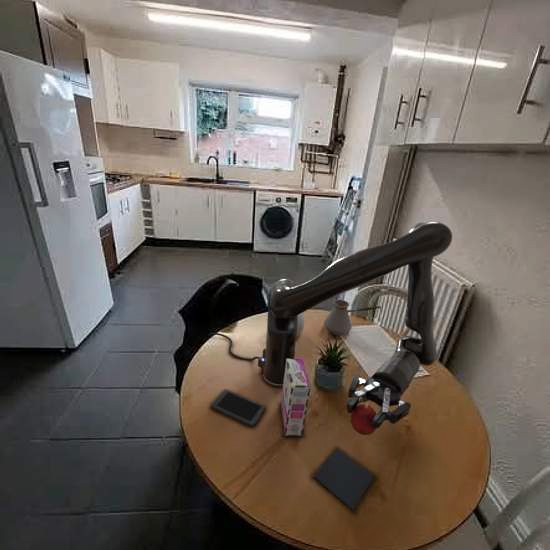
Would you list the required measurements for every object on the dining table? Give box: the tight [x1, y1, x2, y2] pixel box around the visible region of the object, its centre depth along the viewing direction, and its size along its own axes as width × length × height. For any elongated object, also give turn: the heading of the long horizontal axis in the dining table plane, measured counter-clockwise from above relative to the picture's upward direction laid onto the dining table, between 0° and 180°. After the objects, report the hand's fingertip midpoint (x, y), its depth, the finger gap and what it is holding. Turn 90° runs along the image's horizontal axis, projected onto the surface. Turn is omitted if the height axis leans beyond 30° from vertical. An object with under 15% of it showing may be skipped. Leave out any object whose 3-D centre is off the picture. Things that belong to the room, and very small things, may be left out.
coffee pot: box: [323, 299, 382, 336], centre depth 126 cm, size 21×12×15 cm, turn 71°
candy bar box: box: [280, 358, 312, 437], centre depth 82 cm, size 11×5×16 cm, turn 5°
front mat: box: [313, 448, 375, 511], centre depth 71 cm, size 10×10×1 cm
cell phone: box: [210, 389, 266, 427], centre depth 87 cm, size 7×14×1 cm, turn 64°
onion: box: [350, 402, 377, 436], centre depth 67 cm, size 6×6×8 cm
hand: (360, 417), depth 64 cm, fingers closed on onion, 5 cm apart
